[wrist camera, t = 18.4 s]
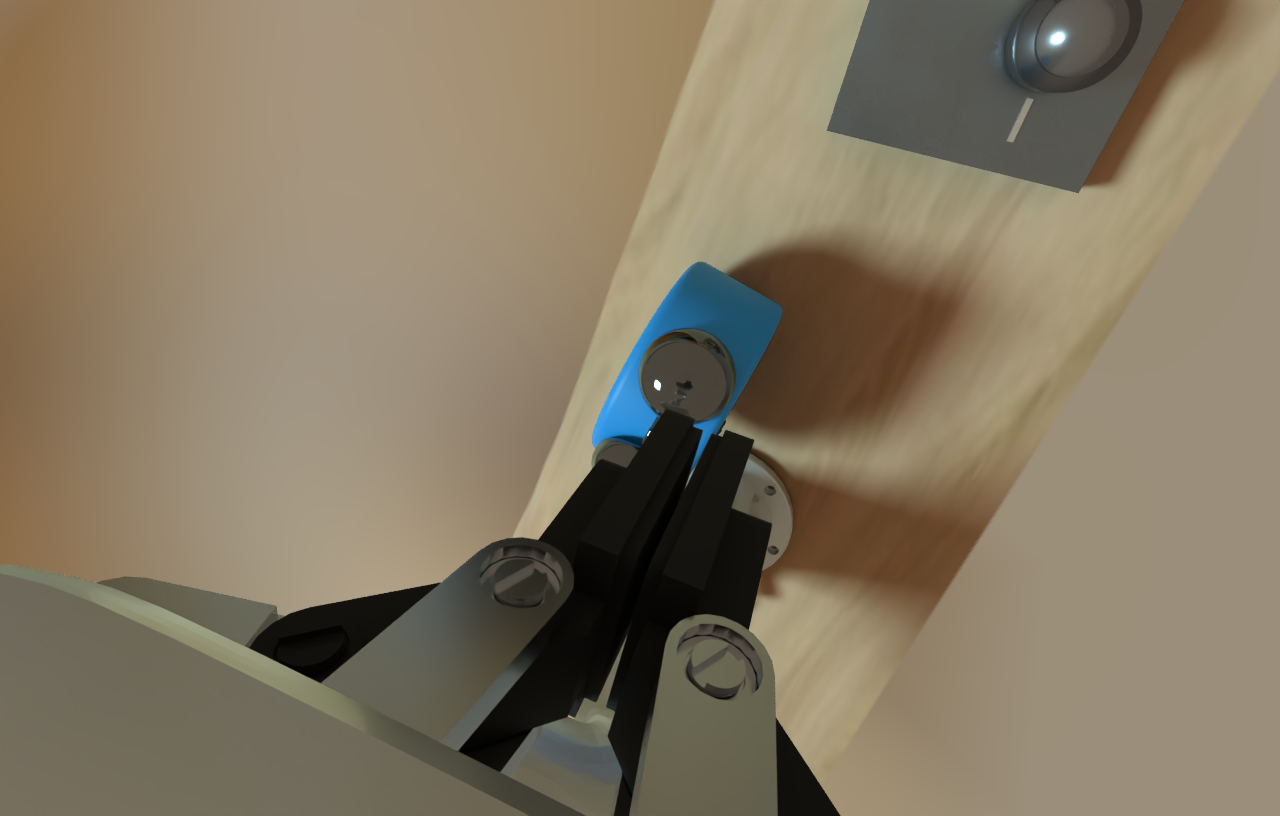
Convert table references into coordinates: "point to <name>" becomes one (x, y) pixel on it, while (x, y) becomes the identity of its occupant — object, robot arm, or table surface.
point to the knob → (1071, 42)
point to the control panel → (980, 90)
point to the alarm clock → (687, 362)
